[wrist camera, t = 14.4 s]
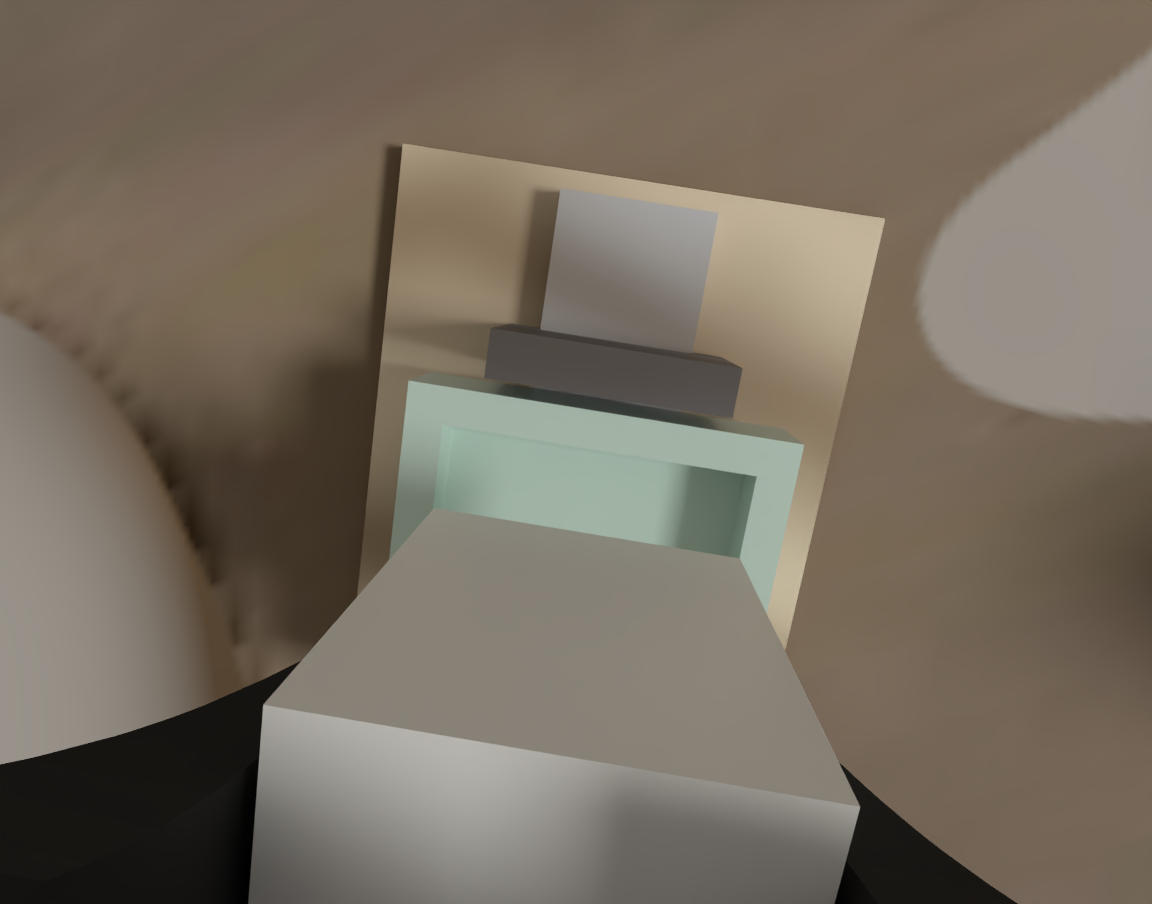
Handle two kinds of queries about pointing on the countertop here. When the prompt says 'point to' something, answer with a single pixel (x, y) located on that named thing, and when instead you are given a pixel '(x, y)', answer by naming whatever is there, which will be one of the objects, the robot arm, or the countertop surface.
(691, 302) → the beige rectangular board
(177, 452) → the countertop surface
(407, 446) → the holder
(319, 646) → the block
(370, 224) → the countertop surface
